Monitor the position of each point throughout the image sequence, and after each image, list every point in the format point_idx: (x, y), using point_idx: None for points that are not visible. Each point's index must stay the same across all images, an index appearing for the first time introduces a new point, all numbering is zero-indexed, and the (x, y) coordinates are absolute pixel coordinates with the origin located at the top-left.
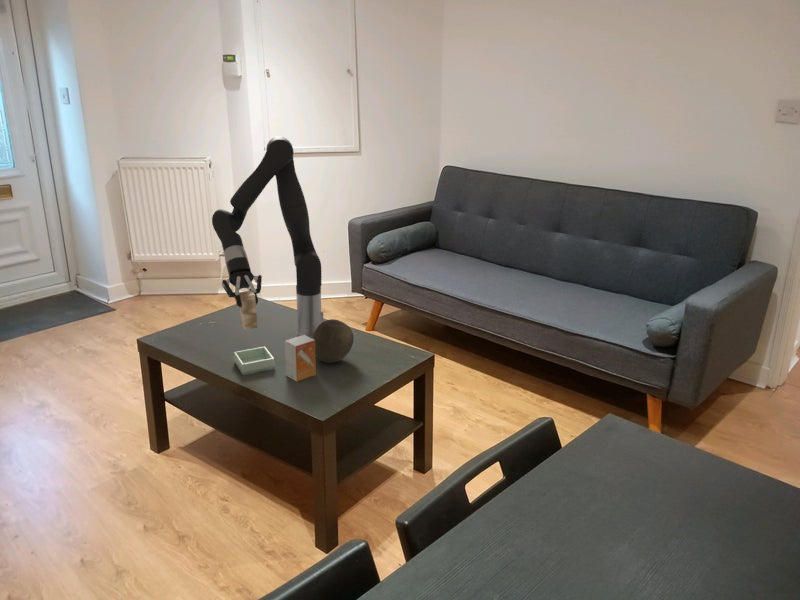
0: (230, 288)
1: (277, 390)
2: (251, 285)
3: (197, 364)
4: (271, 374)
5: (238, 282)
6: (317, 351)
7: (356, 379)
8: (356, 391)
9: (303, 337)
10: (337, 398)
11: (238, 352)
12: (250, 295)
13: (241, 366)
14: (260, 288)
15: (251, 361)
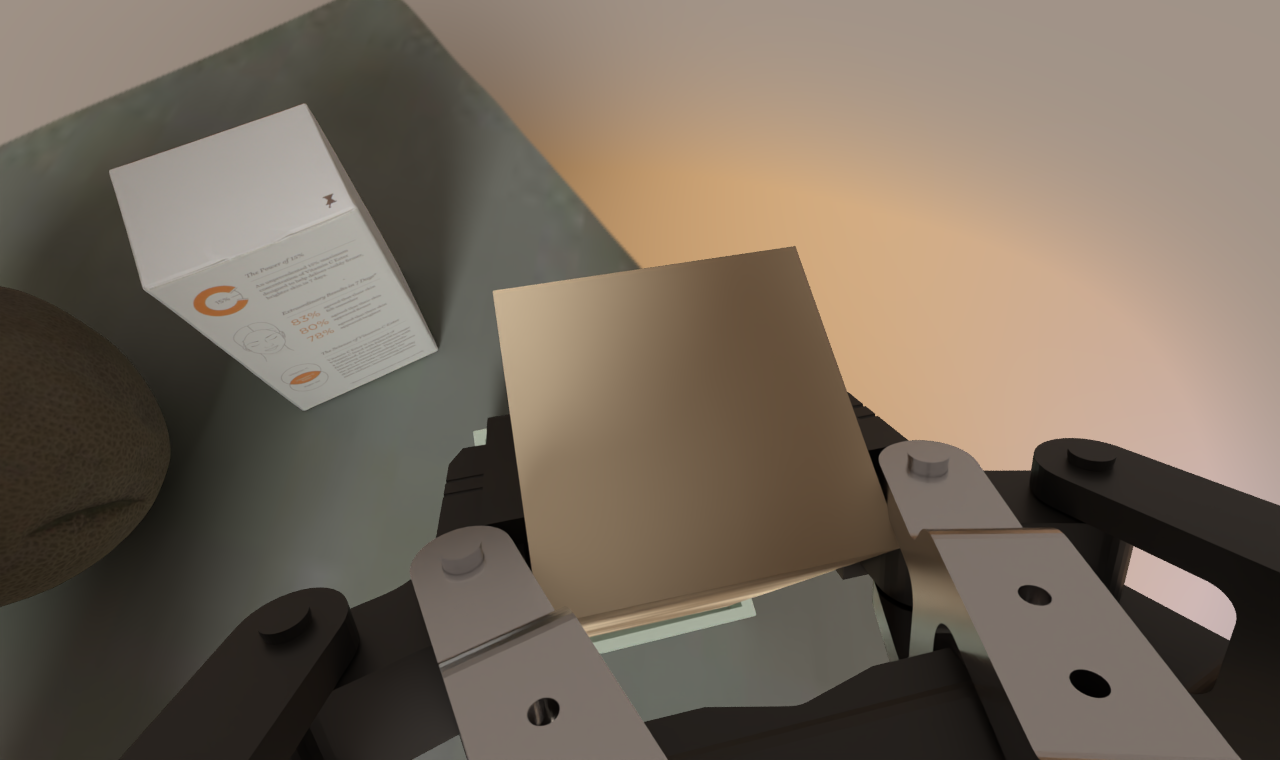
0: (1210, 542)
1: (517, 213)
2: (509, 634)
3: None
4: None
5: (1083, 691)
6: (142, 381)
7: (77, 225)
8: (145, 121)
9: (178, 228)
10: (262, 89)
11: (721, 611)
12: (601, 276)
13: None
14: (242, 640)
15: None
